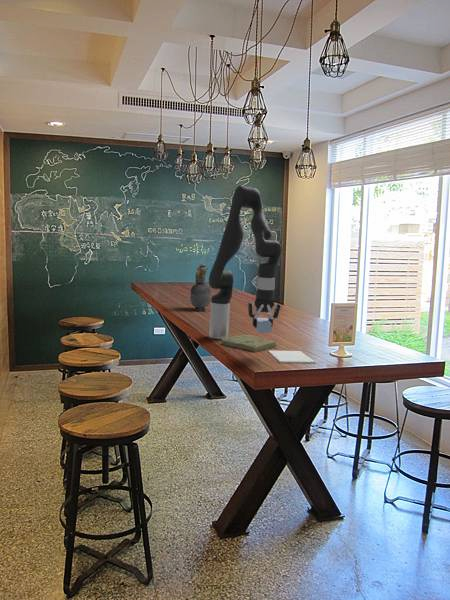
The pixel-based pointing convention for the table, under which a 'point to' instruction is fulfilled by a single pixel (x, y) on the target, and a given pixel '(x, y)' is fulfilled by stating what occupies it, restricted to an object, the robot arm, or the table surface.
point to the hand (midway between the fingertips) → (262, 327)
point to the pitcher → (200, 290)
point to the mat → (291, 357)
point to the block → (263, 325)
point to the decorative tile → (248, 343)
